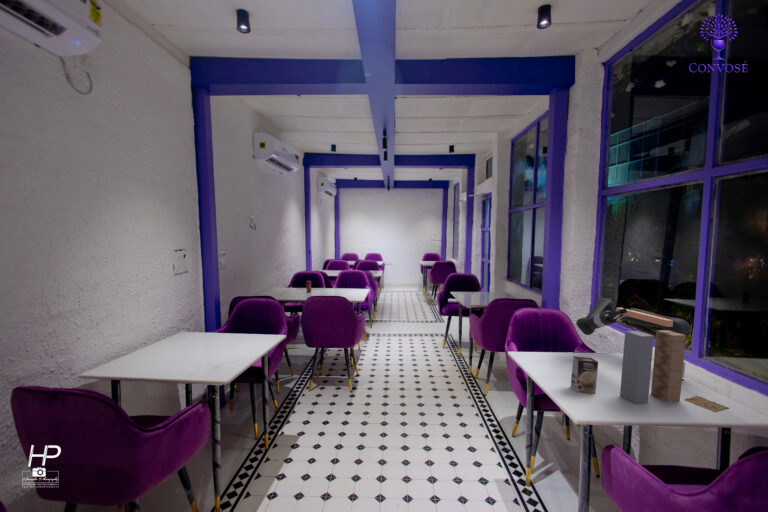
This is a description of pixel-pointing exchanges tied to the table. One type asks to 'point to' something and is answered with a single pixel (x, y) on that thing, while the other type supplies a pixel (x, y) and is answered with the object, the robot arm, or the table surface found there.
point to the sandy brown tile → (706, 404)
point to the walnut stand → (668, 365)
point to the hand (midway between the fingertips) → (628, 310)
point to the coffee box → (584, 374)
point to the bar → (648, 317)
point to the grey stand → (636, 367)
